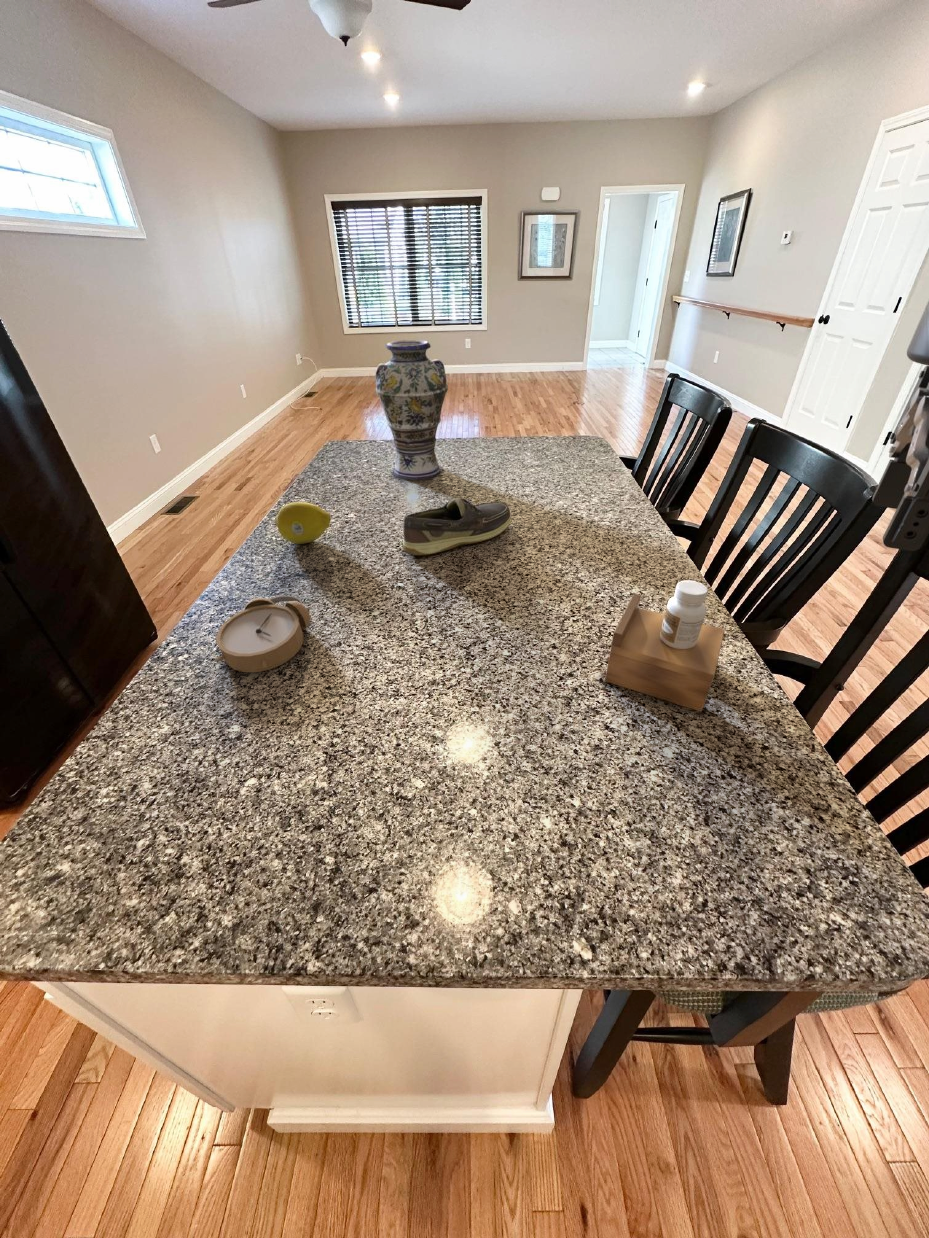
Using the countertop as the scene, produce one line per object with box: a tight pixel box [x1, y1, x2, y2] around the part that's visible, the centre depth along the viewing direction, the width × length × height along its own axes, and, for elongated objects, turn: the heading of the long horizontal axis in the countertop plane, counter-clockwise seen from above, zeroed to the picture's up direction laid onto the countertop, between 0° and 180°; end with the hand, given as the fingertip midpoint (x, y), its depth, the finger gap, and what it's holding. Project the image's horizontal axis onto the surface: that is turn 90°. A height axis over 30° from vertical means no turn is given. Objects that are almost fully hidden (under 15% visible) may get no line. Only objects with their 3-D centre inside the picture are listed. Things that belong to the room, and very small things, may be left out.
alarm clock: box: [215, 595, 312, 673], centre depth 75 cm, size 11×5×15 cm
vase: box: [374, 339, 449, 481], centre depth 126 cm, size 17×17×30 cm
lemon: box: [274, 501, 331, 545], centre depth 100 cm, size 11×8×8 cm
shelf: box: [604, 593, 726, 712], centre depth 66 cm, size 12×10×8 cm
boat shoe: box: [402, 497, 513, 556], centre depth 100 cm, size 9×25×8 cm, turn 129°
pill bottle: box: [660, 579, 709, 649], centre depth 62 cm, size 4×4×8 cm
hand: (891, 525), depth 40 cm, fingers open, 8 cm apart
